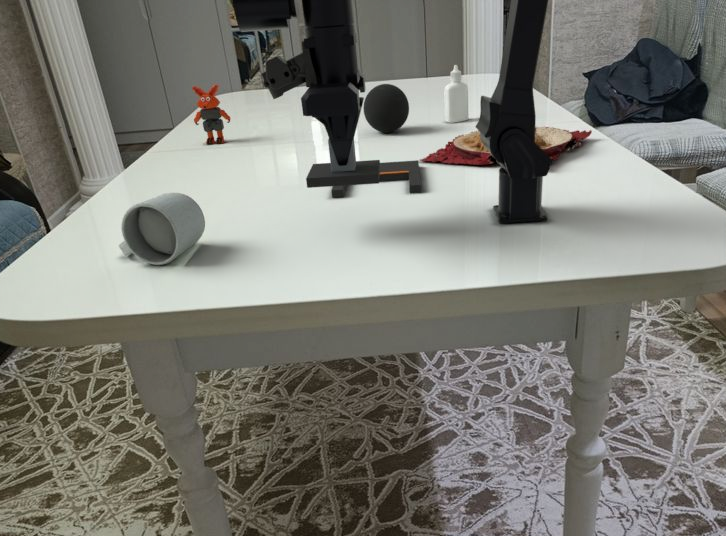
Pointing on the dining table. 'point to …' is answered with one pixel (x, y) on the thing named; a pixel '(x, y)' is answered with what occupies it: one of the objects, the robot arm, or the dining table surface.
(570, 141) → the plate with food
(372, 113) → the dark grey ball
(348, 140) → the robot arm
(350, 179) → the loose pad
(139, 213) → the ceramic mug
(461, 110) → the eye dropper bottle
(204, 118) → the toy animal
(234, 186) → the dining table surface
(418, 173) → the dock pad
